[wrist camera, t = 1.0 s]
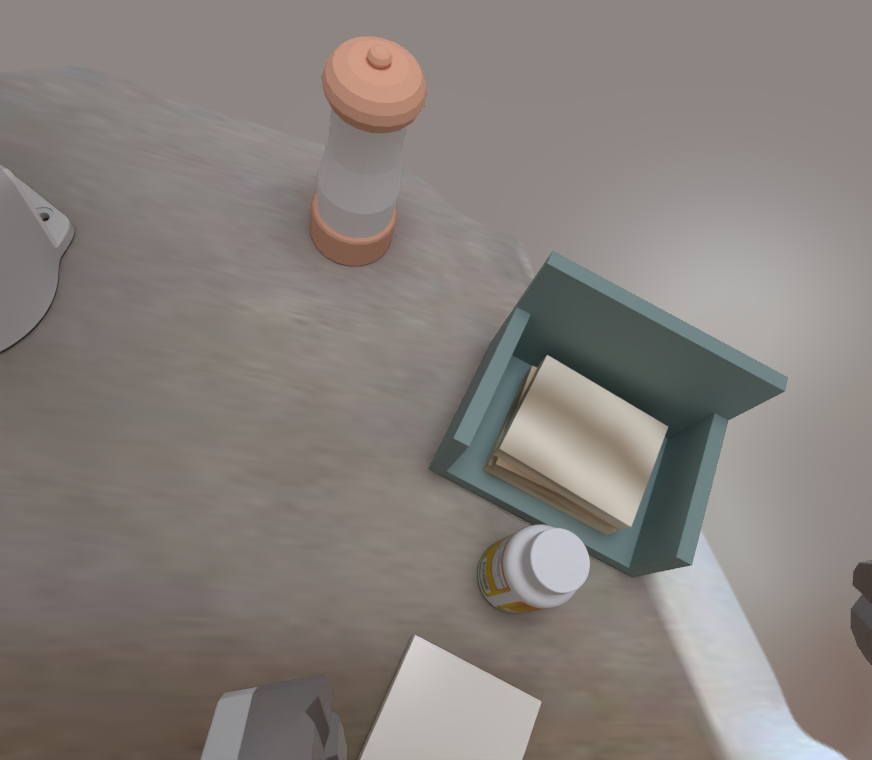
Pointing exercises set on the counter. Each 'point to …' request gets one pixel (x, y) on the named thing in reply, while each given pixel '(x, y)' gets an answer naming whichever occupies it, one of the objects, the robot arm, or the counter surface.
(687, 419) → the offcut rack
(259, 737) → the robot arm
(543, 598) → the supplement bottle
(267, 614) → the counter surface
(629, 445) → the birch offcut top
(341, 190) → the pepper shaker
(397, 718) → the plate
